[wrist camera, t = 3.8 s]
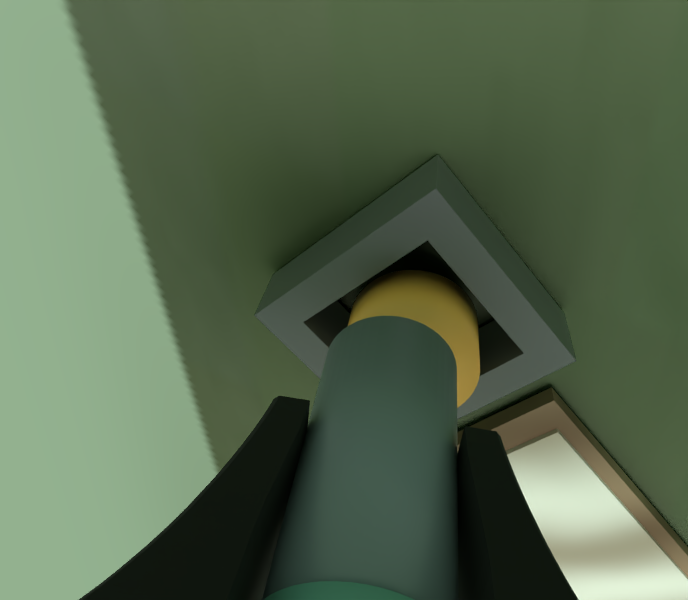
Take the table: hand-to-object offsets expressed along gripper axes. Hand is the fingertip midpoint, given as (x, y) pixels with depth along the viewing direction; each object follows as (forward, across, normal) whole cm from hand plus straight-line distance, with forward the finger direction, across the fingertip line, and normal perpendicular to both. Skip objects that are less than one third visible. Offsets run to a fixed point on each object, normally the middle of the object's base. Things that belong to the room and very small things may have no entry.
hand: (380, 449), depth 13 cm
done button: (+8, -1, +2) cm, 8 cm away
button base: (+9, -1, +2) cm, 10 cm away
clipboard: (+9, -7, +14) cm, 18 cm away
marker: (+2, 0, 0) cm, 2 cm away
